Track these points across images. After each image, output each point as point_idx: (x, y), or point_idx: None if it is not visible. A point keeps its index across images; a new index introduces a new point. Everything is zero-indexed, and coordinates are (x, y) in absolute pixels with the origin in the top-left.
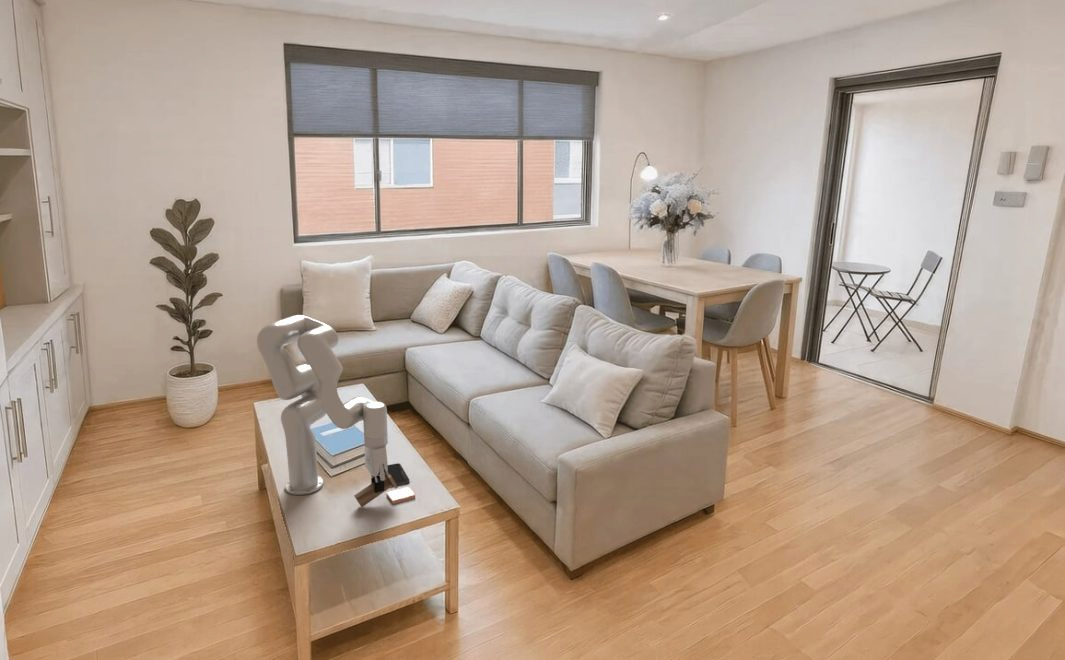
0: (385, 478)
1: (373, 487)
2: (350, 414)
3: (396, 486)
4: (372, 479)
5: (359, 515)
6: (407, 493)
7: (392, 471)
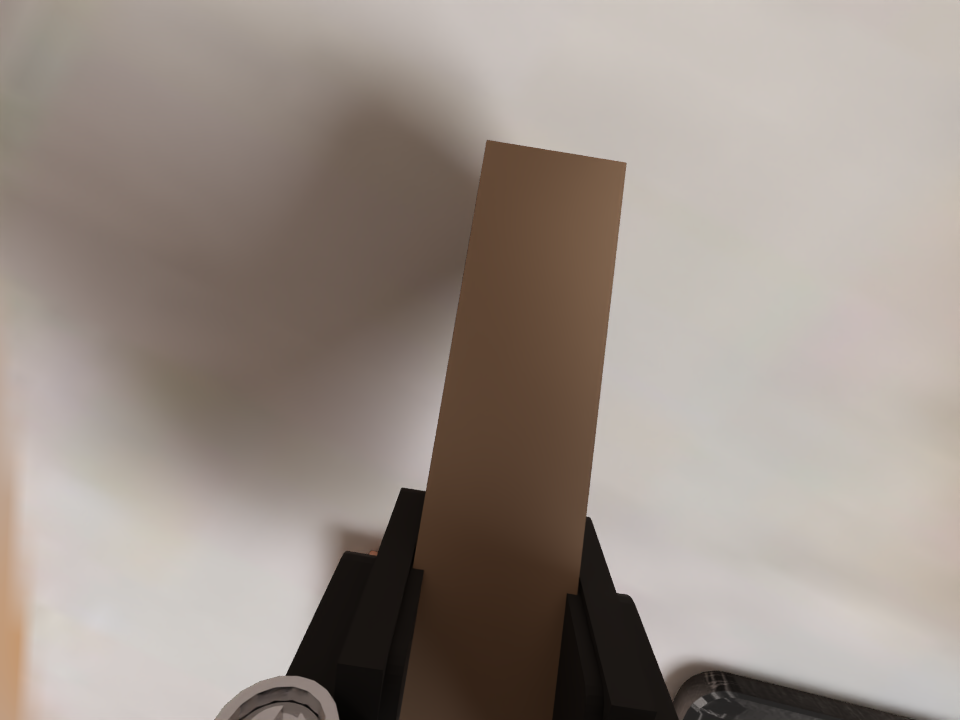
0: None
1: (420, 532)
2: None
3: None
4: (585, 685)
5: (365, 148)
6: None
7: None
